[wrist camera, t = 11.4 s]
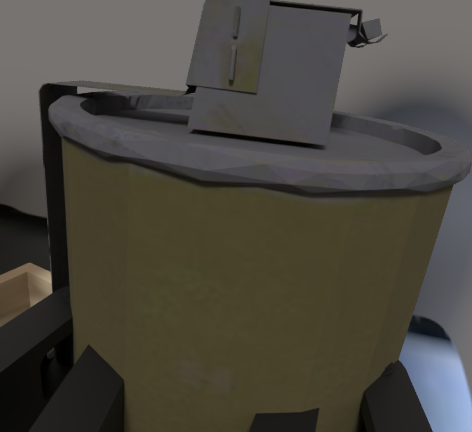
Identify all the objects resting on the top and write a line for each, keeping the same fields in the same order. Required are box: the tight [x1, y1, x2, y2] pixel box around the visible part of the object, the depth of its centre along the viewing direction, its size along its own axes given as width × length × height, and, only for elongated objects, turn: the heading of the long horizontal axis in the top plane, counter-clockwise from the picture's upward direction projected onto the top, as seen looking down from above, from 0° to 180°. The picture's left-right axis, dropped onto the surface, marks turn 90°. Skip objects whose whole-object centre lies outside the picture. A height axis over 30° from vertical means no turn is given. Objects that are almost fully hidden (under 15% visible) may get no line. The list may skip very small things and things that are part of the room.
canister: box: [39, 0, 472, 432], centre depth 13 cm, size 11×10×20 cm
